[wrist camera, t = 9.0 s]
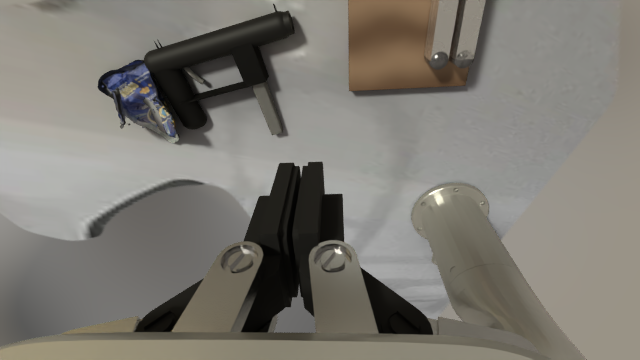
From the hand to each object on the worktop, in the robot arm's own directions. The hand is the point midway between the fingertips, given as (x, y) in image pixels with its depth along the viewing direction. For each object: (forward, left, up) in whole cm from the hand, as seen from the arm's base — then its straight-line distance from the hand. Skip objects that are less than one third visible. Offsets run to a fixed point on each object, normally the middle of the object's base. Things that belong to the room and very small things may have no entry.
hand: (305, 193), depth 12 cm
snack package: (-6, +26, -33) cm, 42 cm away
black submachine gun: (-4, +13, -33) cm, 35 cm away
